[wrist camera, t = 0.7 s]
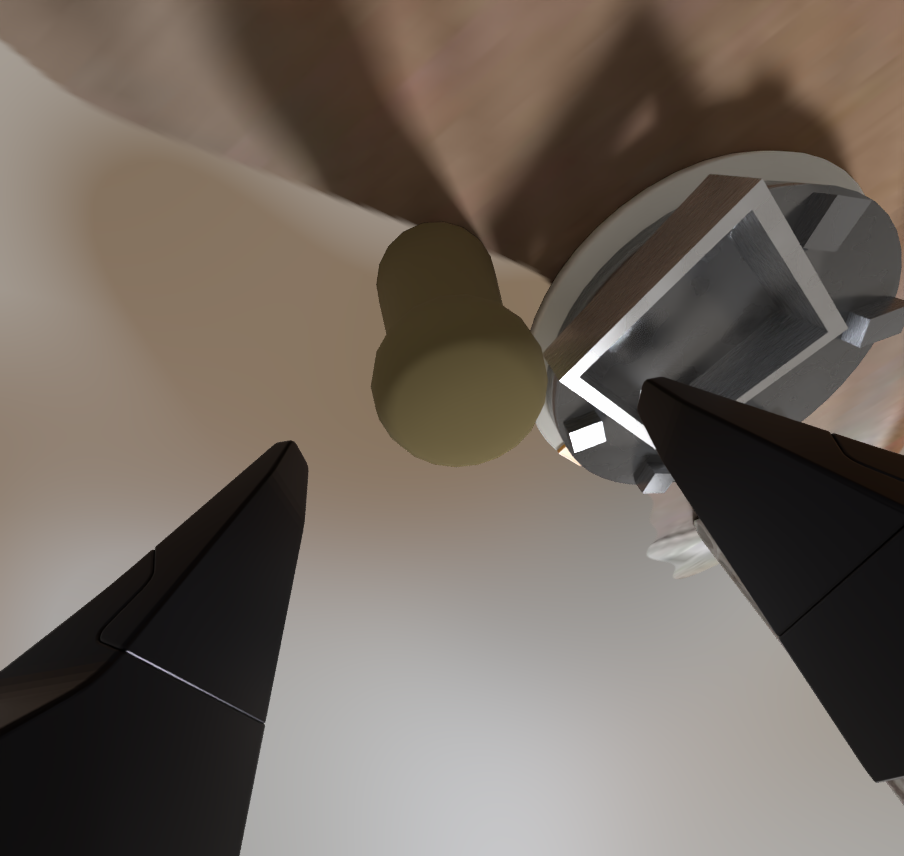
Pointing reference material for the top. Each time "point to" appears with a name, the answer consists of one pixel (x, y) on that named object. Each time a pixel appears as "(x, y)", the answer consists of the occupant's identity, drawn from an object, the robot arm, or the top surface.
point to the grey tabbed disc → (724, 314)
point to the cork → (452, 352)
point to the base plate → (645, 213)
